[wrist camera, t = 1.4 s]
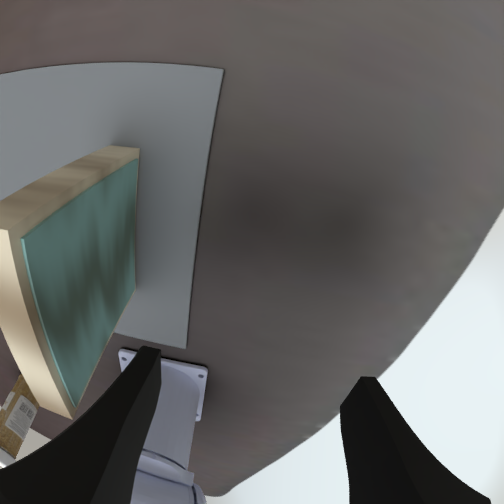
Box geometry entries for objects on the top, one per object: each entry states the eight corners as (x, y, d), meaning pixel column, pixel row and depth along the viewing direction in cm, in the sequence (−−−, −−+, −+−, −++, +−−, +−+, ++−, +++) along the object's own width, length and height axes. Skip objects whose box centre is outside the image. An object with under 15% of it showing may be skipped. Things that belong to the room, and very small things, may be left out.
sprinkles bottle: (15, 369, 29) (-27, 445, 17) (38, 377, 29) (-3, 460, 17) (29, 390, 31) (-7, 462, 19) (52, 398, 31) (18, 477, 19)
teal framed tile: (137, 290, 21) (75, 420, 11) (110, 284, 21) (39, 405, 11) (142, 148, 16) (11, 231, 6) (109, 145, 16) (-31, 221, 6)
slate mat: (186, 345, 24) (185, 349, 23) (-12, 287, 22) (-14, 289, 22) (224, 69, 14) (223, 69, 14) (-35, 83, 13) (-38, 83, 12)
